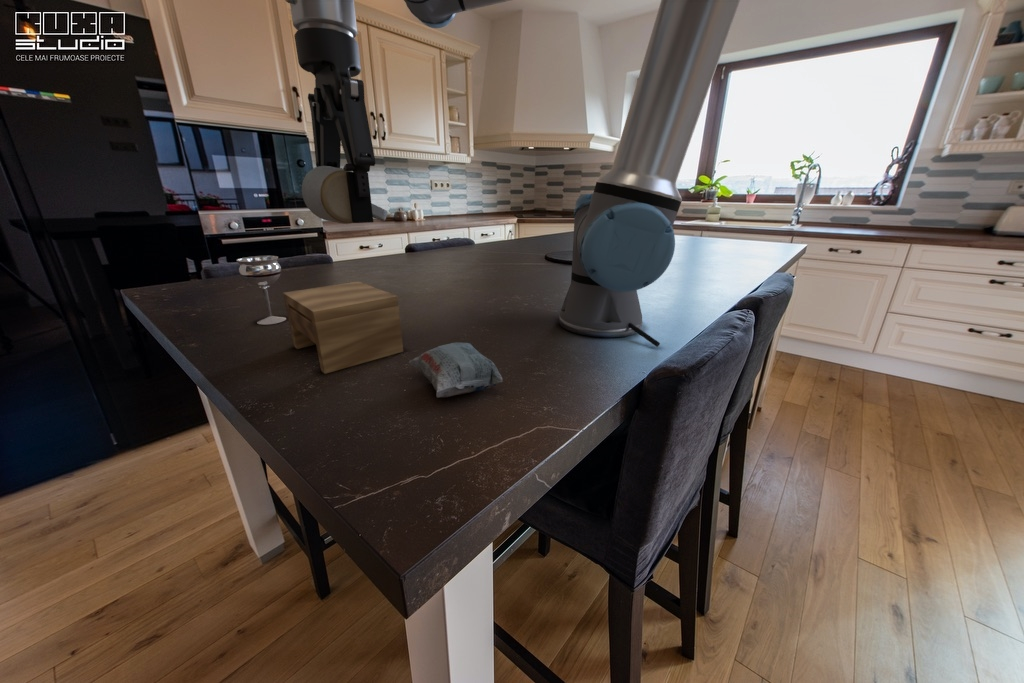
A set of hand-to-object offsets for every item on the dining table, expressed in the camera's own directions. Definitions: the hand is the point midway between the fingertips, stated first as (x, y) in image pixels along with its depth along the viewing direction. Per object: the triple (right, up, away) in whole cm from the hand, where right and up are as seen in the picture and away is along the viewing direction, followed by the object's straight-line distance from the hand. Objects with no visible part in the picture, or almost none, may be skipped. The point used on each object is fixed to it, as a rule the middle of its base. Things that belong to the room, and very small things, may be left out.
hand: (350, 220), depth 59 cm
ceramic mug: (0, 0, 0) cm, 1 cm away
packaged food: (+16, -24, -7) cm, 30 cm away
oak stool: (-2, -19, +5) cm, 20 cm away
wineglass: (-23, -14, +19) cm, 33 cm away
